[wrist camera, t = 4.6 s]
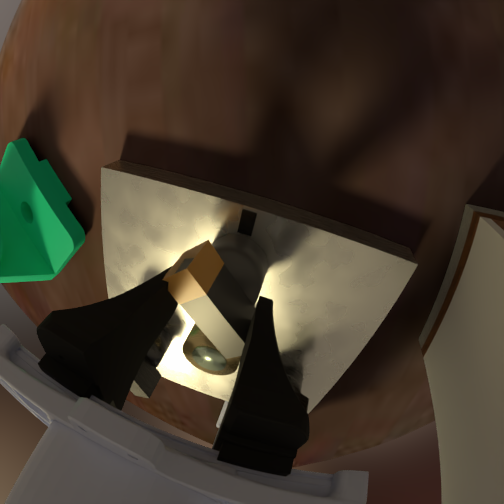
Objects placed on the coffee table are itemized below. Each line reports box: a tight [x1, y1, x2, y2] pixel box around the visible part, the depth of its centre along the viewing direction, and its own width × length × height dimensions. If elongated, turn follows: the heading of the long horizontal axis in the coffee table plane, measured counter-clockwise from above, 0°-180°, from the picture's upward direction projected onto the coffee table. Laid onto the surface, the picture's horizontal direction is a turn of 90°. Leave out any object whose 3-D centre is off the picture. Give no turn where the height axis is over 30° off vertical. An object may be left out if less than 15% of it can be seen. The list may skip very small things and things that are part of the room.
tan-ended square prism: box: [163, 234, 268, 359], centre depth 15 cm, size 5×4×5 cm
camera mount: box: [0, 138, 85, 283], centre depth 17 cm, size 12×8×10 cm, turn 36°
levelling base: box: [101, 160, 418, 413], centre depth 19 cm, size 20×20×7 cm
